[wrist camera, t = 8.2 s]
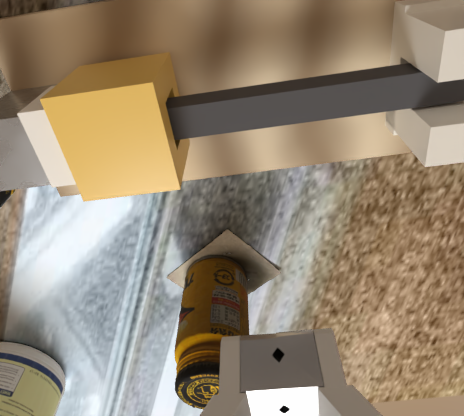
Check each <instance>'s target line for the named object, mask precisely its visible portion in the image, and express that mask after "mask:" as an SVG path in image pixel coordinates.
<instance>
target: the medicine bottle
mask: <svg viewBox="0 0 464 416" xmlns="http://www.w3.org/2000/svg"><path fill="white" fill-rule="evenodd" d="M15 190H16V189H14V190H6V191H0V208H1V207H2V206H3V204H4V203H5V202H6V201H7V200H8V199H9V197H10V196H11V195H12V194H13V193H14V192H15Z"/></svg>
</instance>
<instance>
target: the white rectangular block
mask: <svg viewBox="0 0 464 416" xmlns="http://www.w3.org/2000/svg"><path fill="white" fill-rule="evenodd" d="M54 87H55V86H50V87H49V88H48V89H47V90H45V91H44V92H43V93H42V94H41V95H39V96H38V97H37V98H36V99H34V100H33V101H32V102H31V103H29V104H28V105H27V106H26V107H25V108H23V109H22V110H21V111H20V112H18V113H17V115H18V117H19V119H20V121H21V123H22V125H23V127H24V129H25V131H26V133H27V136H28V138H29V140H30V142H31V144H32V146H33V148H34V150H35V152H36V155H37V157H38V159H39V161H40V163H41V165H42V167H43V169H44V171H45V173H46V176H47V178H48V180H49V182H50V184H51V186H52V187H60V186H67V185H75V184H76V182H75V180H74V178H73V175H72V173H71V171H70V169H69V166H68V164H67V162H66V159H65V157H64V155H63V152H62V150H61V148H60V145H59V143H58V141H57V138H56V136H55V134H54V131H53V129H52V127H51V124H50V122H49V120H48V118H47V115H46V113H45V111H44V108H43V106H42V104H41V101H40V98H42V97H43V96H44V95H45V94H46V93H48V92H49V91H50V90H51V89H52V88H54Z"/></svg>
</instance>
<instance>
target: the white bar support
mask: <svg viewBox="0 0 464 416" xmlns="http://www.w3.org/2000/svg"><path fill="white" fill-rule="evenodd" d="M406 63H410V64H412V65H413V66H415V67H416V68H417V69H419V70H420V71H422V72H423V73H425V74H426V75H427V76H429V77H430V78H432V79H433V80H435V81H436V82H437V83H439V82H446V81H453V80H460V79H464V0H402V1H396V2H395V5H394V18H393V30H392V43H391V55H390V66H392V65H399V64H406ZM385 126H386V127H387V128H388V130H389V131H390V132H391V133H392V134H393V135H398V136H399V137H400V138H401V139H402V140H403V141H404V143H405V144H406V145H407V146H408V147H409V149H410V150H411V151H412V152H413V153H414V155H415V156H416V157H417V158H418V159H419V160H420V162H421V163H422V164H423V165H424V166H425V167H429V166H437V165H445V164H453V163H461V162H464V101H461V102H454V103H447V104H439V105H432V106H424V107H417V108H410V109H402V110H395V111H387V112H386V118H385Z"/></svg>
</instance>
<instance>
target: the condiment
mask: <svg viewBox="0 0 464 416" xmlns="http://www.w3.org/2000/svg"><path fill="white" fill-rule="evenodd" d="M229 252H230V253H231V254H227V253H229ZM223 253H226V254H223ZM280 273H281V272H280V271H279V270H278V269H276V268H275V267H274V266H273V265H272V264H271V263H270V262H268V261H267V260H266V259H265V258H264V257H262V256H261V255H260V254H259V253H257V252H256V251H255V250H254V249H252V247H250V246H249V245H247V244H246V243H244V242H243V241H242V240H241V239H240V238H239V237H237V236H236V235H234V234H233V233H232V232H230V231H229V230H228V229H227V230H226V231H224V232H223V233H222V234H221V235H220V236H218V237H217V238H216V239H214V240H213V241H212V242H211V243H210V244H208V245H207V246H206V247H205V248H203V249H202V250H201V251H199V252H198V253H196V254H195V255H194V256H192V257H191V258H190V259H189V260H188V261H186V262H185V263H184V264H182V265H181V266H180V267H179V268H177V269H176V270H175V271H174V272H172V273H171V274H170V275H169V276H168V277H167V278H168V279H170V280H171V281H173V282H174V283H176V284H178V285H179V286H180V287H182V288H184V290H183V295H182V296H183V297H182V303H181V311H180V315H179V325H178V332H177V338H176V345H175V361H176V363H177V368H176V370H177V377H176V382H175V391H176V393H177V395H178V397H179V398H180V399H181V400H182V401H183V402H185V403H187V404H188V405H190V406H192V407H193V408H194V407H196V408H200V409H204V408H205V407H206V405H207V404H208V402H209V401H210V399H211V398H212V396H213V395H218V394H219V373H220V348H221V340H222V337H229V336H244V335H249V320H248V294H249V293H251V292H253V291H255V290H256V289H257V288H259V287H260V286H262V285H263V284H264V283H266V282H267V281H269V280H271V279H273V278H274V277H276V276H277V275H279V274H280ZM248 279H249V280H248Z"/></svg>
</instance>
